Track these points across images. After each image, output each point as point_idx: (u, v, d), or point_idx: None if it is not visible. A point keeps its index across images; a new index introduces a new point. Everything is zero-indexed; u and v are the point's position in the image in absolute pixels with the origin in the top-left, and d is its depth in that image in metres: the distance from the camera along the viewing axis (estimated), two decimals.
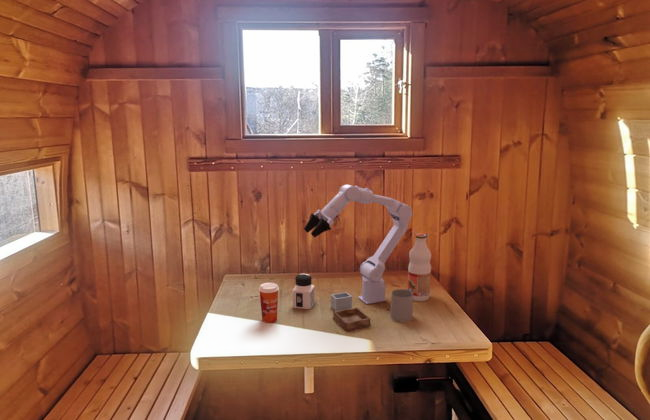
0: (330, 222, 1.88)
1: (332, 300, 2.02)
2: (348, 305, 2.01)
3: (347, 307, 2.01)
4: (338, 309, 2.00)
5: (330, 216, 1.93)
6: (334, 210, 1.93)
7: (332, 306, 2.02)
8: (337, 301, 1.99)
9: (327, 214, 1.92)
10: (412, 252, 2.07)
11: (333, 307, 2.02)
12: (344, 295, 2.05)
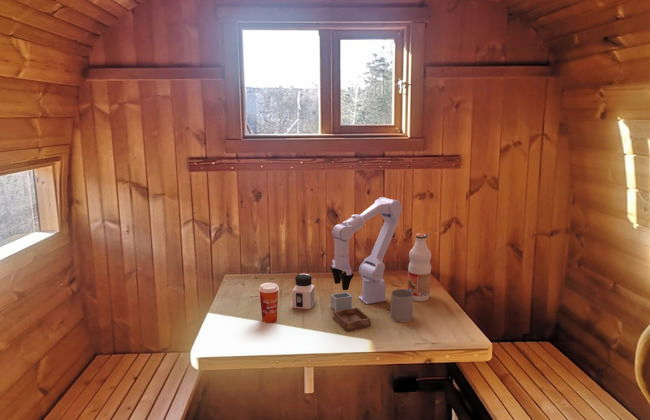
0: (349, 273, 1.93)
1: (332, 300, 2.02)
2: (348, 305, 2.01)
3: (347, 307, 2.01)
4: (338, 309, 2.00)
5: (345, 264, 1.96)
6: (343, 257, 1.95)
7: (332, 306, 2.02)
8: (337, 301, 1.99)
9: (341, 265, 1.96)
10: (412, 252, 2.07)
11: (333, 307, 2.02)
12: (344, 295, 2.05)
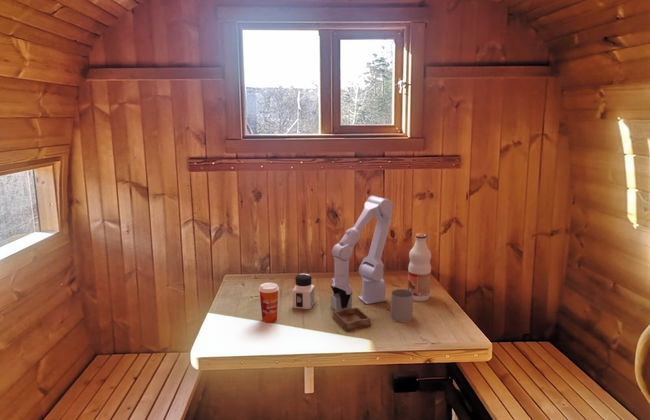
0: (348, 292, 1.94)
1: (332, 300, 2.02)
2: (348, 305, 2.01)
3: (347, 307, 2.01)
4: (338, 309, 2.00)
5: (344, 283, 1.98)
6: (343, 277, 1.97)
7: (332, 306, 2.02)
8: (337, 301, 1.99)
9: (341, 284, 1.98)
10: (412, 252, 2.07)
11: (333, 307, 2.02)
12: None
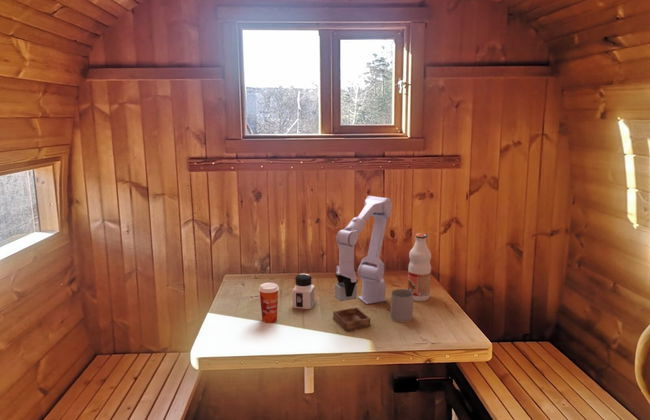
0: (353, 280, 1.86)
1: (336, 290, 1.94)
2: (353, 295, 1.93)
3: (352, 297, 1.93)
4: (342, 299, 1.91)
5: (349, 270, 1.90)
6: (348, 264, 1.89)
7: (336, 295, 1.94)
8: (341, 290, 1.90)
9: (346, 271, 1.89)
10: (412, 252, 2.07)
11: (337, 296, 1.93)
12: None
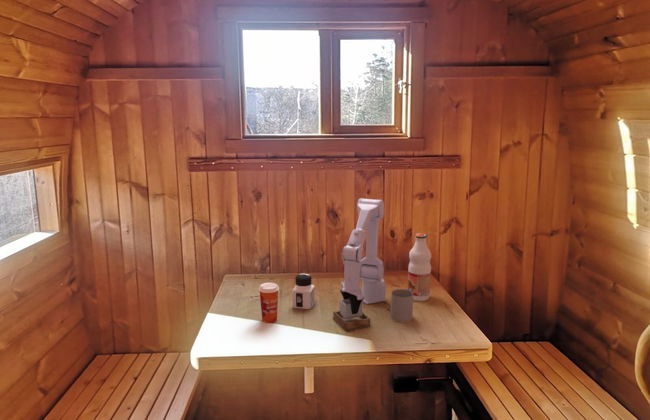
0: (360, 297, 1.81)
1: (341, 307, 1.88)
2: (358, 312, 1.87)
3: (357, 314, 1.87)
4: (348, 316, 1.86)
5: (355, 287, 1.84)
6: (354, 280, 1.83)
7: (341, 313, 1.89)
8: (347, 308, 1.85)
9: (351, 288, 1.84)
10: (412, 252, 2.07)
11: (342, 314, 1.88)
12: None
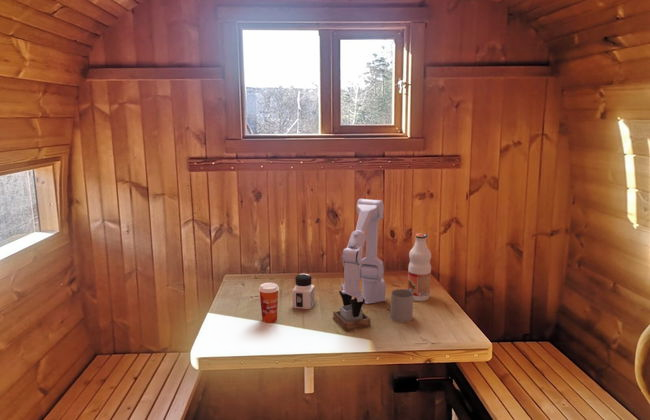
0: (360, 299, 1.81)
1: (341, 313, 1.89)
2: (358, 318, 1.88)
3: None
4: None
5: (355, 289, 1.84)
6: (354, 282, 1.84)
7: None
8: (347, 314, 1.85)
9: (351, 290, 1.84)
10: (412, 252, 2.07)
11: None
12: None
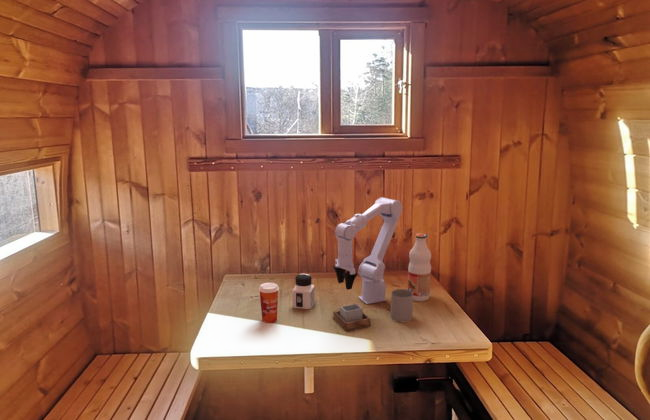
0: (352, 272, 1.92)
1: (341, 313, 1.89)
2: (358, 318, 1.88)
3: None
4: None
5: (348, 263, 1.95)
6: (347, 257, 1.95)
7: None
8: (347, 314, 1.85)
9: (345, 264, 1.95)
10: (412, 252, 2.07)
11: None
12: (354, 307, 1.92)
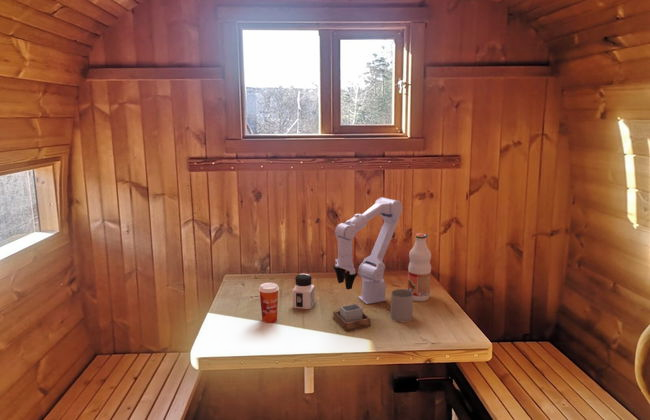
0: (352, 272, 1.92)
1: (341, 313, 1.89)
2: (358, 318, 1.88)
3: None
4: None
5: (348, 263, 1.96)
6: (347, 256, 1.95)
7: None
8: (347, 314, 1.85)
9: (345, 264, 1.95)
10: (412, 252, 2.07)
11: None
12: (354, 307, 1.92)
